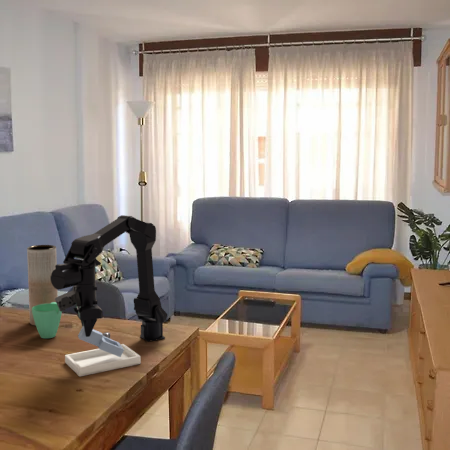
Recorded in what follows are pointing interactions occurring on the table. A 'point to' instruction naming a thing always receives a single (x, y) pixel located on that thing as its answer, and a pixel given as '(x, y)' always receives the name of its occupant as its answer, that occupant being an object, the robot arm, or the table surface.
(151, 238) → the robot arm
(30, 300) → the vase
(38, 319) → the mug
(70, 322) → the table surface
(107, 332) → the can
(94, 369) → the tray
